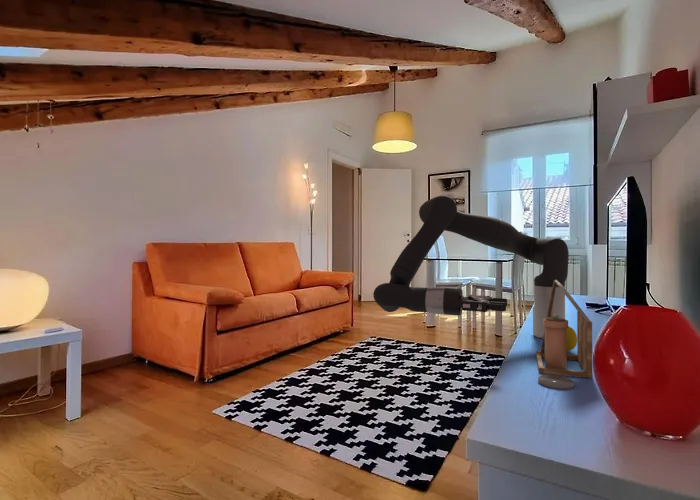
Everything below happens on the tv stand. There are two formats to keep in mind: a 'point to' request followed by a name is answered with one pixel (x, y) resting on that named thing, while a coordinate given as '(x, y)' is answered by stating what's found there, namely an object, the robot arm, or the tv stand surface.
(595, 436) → the tv stand surface
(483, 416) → the tv stand surface
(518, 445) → the tv stand surface
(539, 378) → the grey-brown flat disc
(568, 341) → the lemon
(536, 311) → the robot arm
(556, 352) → the pot
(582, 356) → the cold frame
